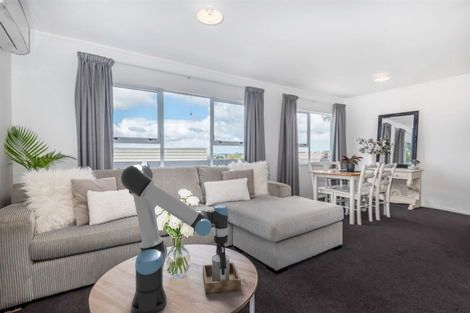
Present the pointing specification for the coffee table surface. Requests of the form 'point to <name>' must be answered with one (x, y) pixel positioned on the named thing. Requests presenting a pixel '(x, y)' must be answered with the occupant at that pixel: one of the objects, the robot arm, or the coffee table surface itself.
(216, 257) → the speckled white tin can
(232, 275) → the walnut box
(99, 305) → the coffee table surface
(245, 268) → the coffee table surface
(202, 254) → the coffee table surface
